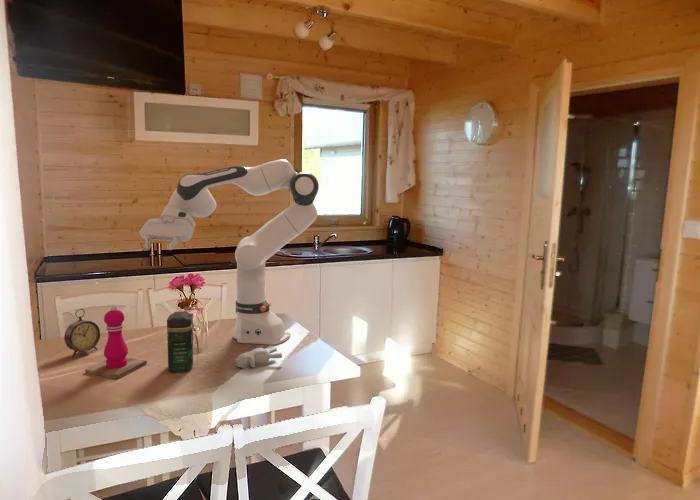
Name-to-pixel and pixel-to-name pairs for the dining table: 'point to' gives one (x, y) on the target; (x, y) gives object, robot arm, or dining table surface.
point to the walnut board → (116, 372)
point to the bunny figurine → (256, 357)
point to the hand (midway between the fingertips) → (157, 248)
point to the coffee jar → (180, 341)
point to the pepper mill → (115, 339)
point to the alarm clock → (82, 335)
